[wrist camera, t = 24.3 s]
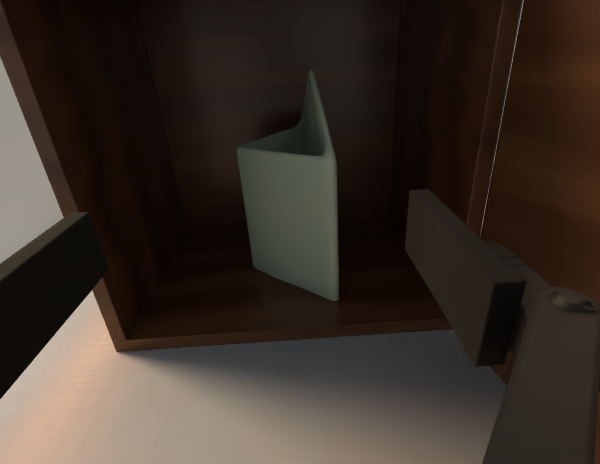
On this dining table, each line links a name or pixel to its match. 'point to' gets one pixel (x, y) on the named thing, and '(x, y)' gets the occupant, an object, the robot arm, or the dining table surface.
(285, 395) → the dining table surface
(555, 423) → the robot arm
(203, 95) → the cupboard
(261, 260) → the planter
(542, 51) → the cupboard door
